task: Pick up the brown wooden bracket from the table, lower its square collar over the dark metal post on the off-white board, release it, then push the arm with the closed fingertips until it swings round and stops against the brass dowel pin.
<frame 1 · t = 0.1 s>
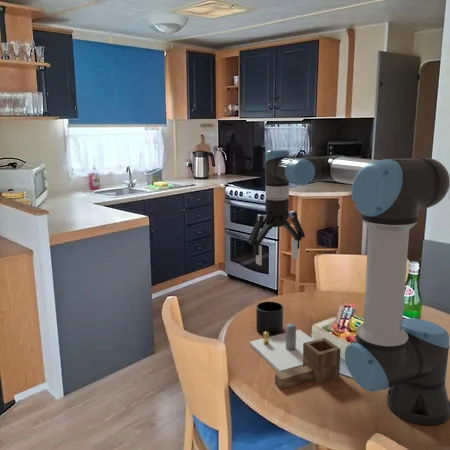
hand: (276, 261, 148), 28 cm above the table, fingers open, 13 cm apart
brown wooden bracket: (320, 373, 132), on the table
post board: (290, 351, 145), on the table
dowel pin: (266, 346, 149), resting on post board
mug: (268, 328, 162), on the table
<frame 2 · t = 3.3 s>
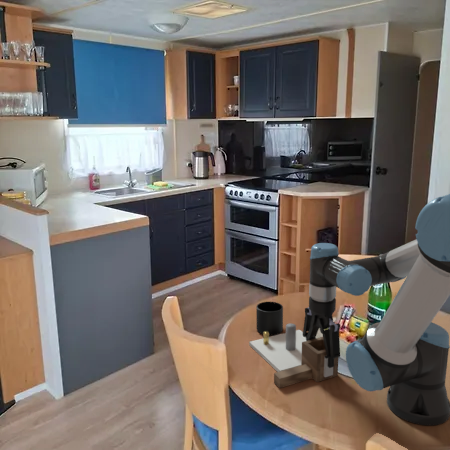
hand: (319, 368, 132), 1 cm above the table, fingers closed on brown wooden bracket, 8 cm apart
brown wooden bracket: (319, 372, 133), on the table, touching gripper
everything else where it was.
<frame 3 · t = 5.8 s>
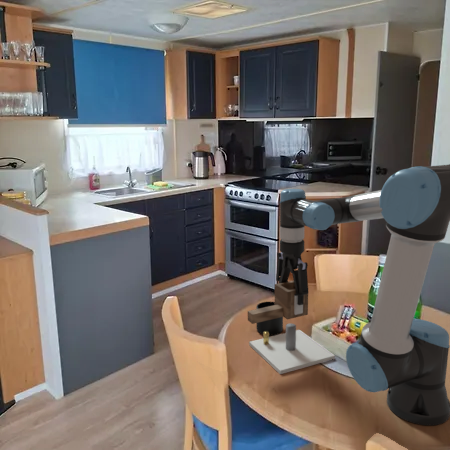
hand: (291, 308, 142), 15 cm above the table, fingers closed on brown wooden bracket, 8 cm apart
brown wooden bracket: (290, 312, 142), point 14 cm above the table, touching gripper
everything else where it was.
when the fingers open (3 cm above the table, at t = 8.3 s): brown wooden bracket stays where it is, resting on post board.
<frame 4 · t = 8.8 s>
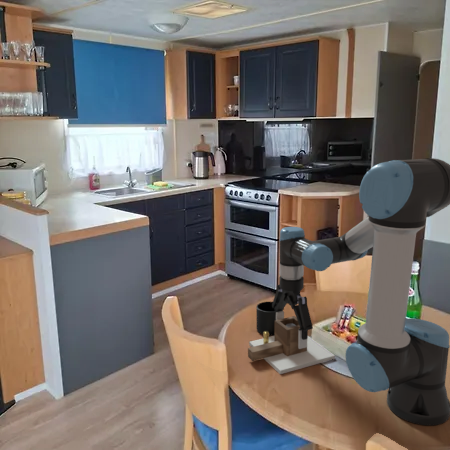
hand: (290, 338, 144), 5 cm above the table, fingers open, 13 cm apart
brown wooden bracket: (290, 348, 145), point 1 cm above the table, touching post board
everything else where it was.
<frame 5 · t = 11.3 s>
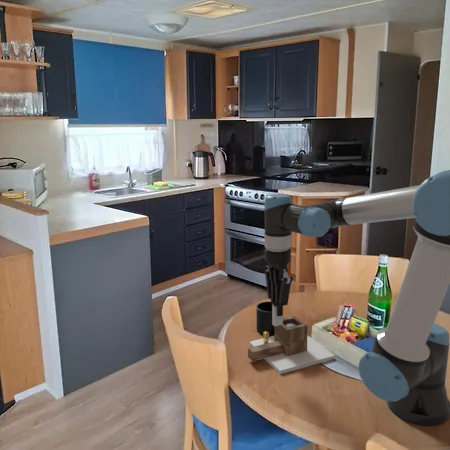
hand: (277, 324, 132), 14 cm above the table, fingers closed
nothing on the table moved.
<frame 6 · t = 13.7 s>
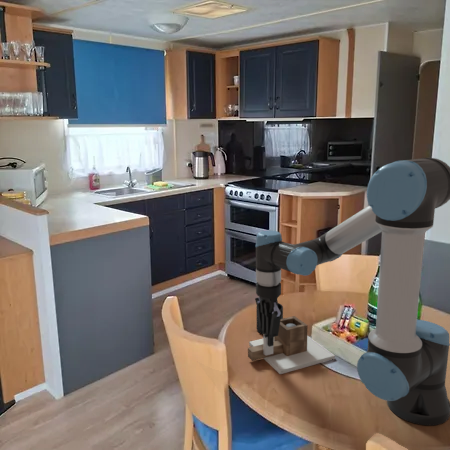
hand: (268, 353, 139), 3 cm above the table, fingers closed
brown wooden bracket: (290, 348, 145), point 1 cm above the table, touching gripper
everything else where it was.
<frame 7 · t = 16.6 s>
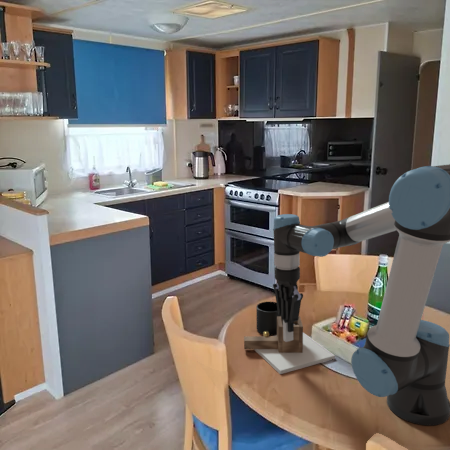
hand: (288, 340, 137), 8 cm above the table, fingers closed
brown wooden bracket: (289, 346, 146), point 1 cm above the table, touching dowel pin, post board
everything else where it was.
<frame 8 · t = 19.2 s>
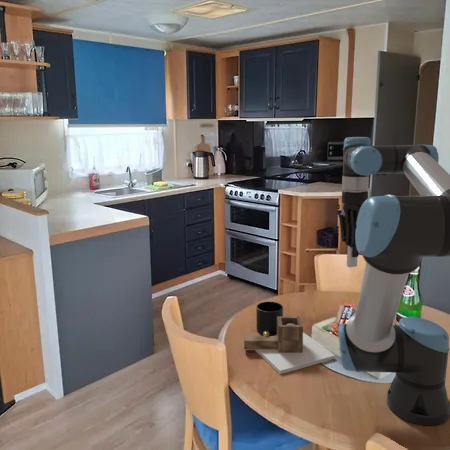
hand: (351, 266, 137), 29 cm above the table, fingers closed
nothing on the table moved.
at the end: brown wooden bracket 1.0 cm from the post board (horizontally); brown wooden bracket point 1.2 cm above the table; brown wooden bracket touching dowel pin, post board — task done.
